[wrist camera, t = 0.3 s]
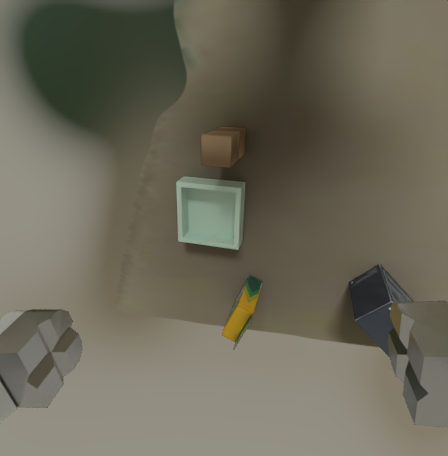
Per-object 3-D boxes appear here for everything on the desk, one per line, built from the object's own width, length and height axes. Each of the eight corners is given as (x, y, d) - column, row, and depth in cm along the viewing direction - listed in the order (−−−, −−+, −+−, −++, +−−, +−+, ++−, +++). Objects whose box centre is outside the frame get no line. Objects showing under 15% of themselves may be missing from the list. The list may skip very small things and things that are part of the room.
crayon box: (248, 274, 61) (235, 312, 50) (263, 281, 60) (252, 321, 50) (233, 301, 64) (217, 342, 54) (247, 308, 64) (233, 351, 53)
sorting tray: (184, 176, 56) (176, 181, 53) (245, 182, 54) (241, 188, 51) (185, 233, 61) (178, 241, 57) (242, 240, 58) (238, 249, 55)
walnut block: (221, 126, 51) (201, 134, 43) (245, 128, 51) (231, 136, 42) (220, 152, 53) (201, 165, 44) (244, 153, 52) (230, 167, 43)
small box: (345, 282, 56) (351, 321, 47) (379, 262, 53) (392, 299, 44) (384, 324, 58) (397, 370, 48) (419, 306, 55) (440, 351, 45)
